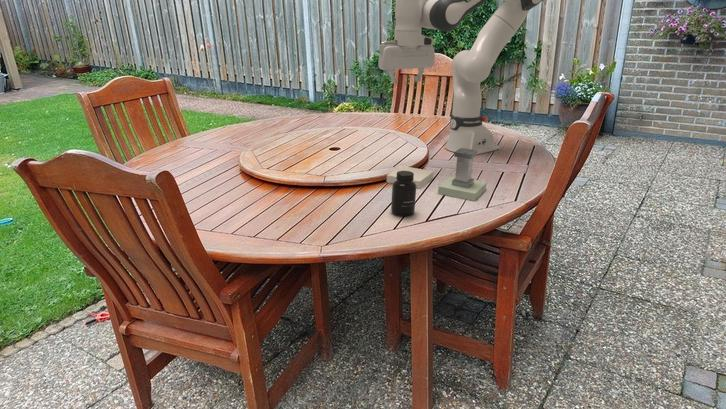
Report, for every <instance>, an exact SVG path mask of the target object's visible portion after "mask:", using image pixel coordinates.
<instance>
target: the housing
mask: <svg viewBox="0 0 726 409" xmlns="http://www.w3.org/2000/svg"><path fill="white" fill-rule="evenodd" d="M476 156H478V154H477V150H471V149H465V148H460V149H458V150H457V151H455V152H454V154H453V157H454V158H456V167H455V175H454V176H455V179H454V180H452V185H453V186H458V187H464V188H469V187H470V186H471V185H473V184H474V180H475V178H472V176H473V175H472V174H473V166H474V158H475V157H476Z"/></svg>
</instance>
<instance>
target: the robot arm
mask: <svg viewBox="0 0 726 409" xmlns="http://www.w3.org/2000/svg"><path fill="white" fill-rule="evenodd" d="M487 1H488V0H395V6H394V7H395V9H394V10H395V11H394V18H395V26H394V36H393V37H394V39H392V40H387V39H385V40H383V41H382V42H381V43H380V44H379V50H378V51H379V55H378V62H377V63H378V64H377V65H378V68H379V69H380V70H383V71H387V73H388V75H389V77H390V84H397V83H398V78H397V77H396V76H395V75H394V74H395V73H396V72H395V71H396V70H411V69H412V70H413V69H417V71H418V72H417V75H414V81H415V82H416V83H417V82H419V83H420V82H422V76H423V75H424V73H425V69H427V68H429V69H430V68H433V67H434V65H435V56H436V55H435V54H436V53H435V48H434V46H433V45H434V44H435V39H434V38H432V37H430V36H427V35H424V34H422V28H424V29H429V30H438V31H442V32H452V31H454V30H455V29H456V28H458V27H459V25H461V23H462V21H463V20H464V19H465V18H466V16H468V15H469V14H471V12H473V11H474V10H476V9H477V8H479V7H480V6H481V5H483V4H485V2H487ZM542 1H543V0H504V2H503V3H502V4H501V5H499V7H498V8H497V9H496V10H495V11H494V13H493V14H492V15H491V16H490V18H489V19H488V20H487V21H486V22H485V24H484V25H483V27H482V28H481V29H480V30H479V32H478V34H477V37H476V39H475V41H474V42H473V44H472V46H471V48H470V49H464V50H461V51H459V52H458V53H457V54H455V55H454V57H453V60H452V65H451V66H452V85H453V86H452V88H453V99H452V100H453V101H452V111H451V112H452V113H451V114H450V122H449V127H450V130H449V133H448V138H447V142H446V144H445V149H446V150H448V151H449V152H454V153H455V151H457V150H458V149H460V148H465V149H471V150H477V155H480V154H485V153H488V152H489V153H490V152H493V151H497V149H498V150H500V147H499V145H498V144H496V143H495V142H494V141H495V140H494V138H495V137H494V134H493V132H491V130H489V129H488V128H487V127H486V126H485V125H484V124H483V122H484V123H487V122H488V120H489V119H488V116H484V115H483V116H482V115H481V107H482V106H481V105H482V97H483V96H482V92H481V83H482V82H483V81H485V80H486V79H487V78H488V77H489V76H490V74H491V71H492V68H493V66H494V65H495V63H496V61H497V59H498V57H499V55H500V53H501V52H502V51H503V49H504V48H505V47H506V46H507V44H508V43H509V42H510V40H511V39H512V37H513V36H514V35H515V34H516V33H517V31H518V30H519V29H520V28H521V26H522V24H524V21H525V20H526V18H527V16H528V15H529V12H530V10H531V9H533V8H535V7H537V6H538V5H540V3H542Z"/></svg>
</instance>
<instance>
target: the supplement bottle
mask: <svg viewBox="0 0 726 409" xmlns="http://www.w3.org/2000/svg"><path fill="white" fill-rule="evenodd" d="M396 179H397V180H396V181H395V182H394V183H392V190H391V204H390V206H391V208H390V210H391V213H392V214H393V215H395V216H398V217H409V216H412V215H414V213H415V209H416V198H417V196H416V195H417V188H416V184H415V182H413V180H414V173H413V172H410V171H398V172H397V177H396Z"/></svg>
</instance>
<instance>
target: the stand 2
mask: <svg viewBox="0 0 726 409" xmlns="http://www.w3.org/2000/svg"><path fill="white" fill-rule="evenodd" d="M455 176H456V175H451V176H450V177H448V178H447V179H445V180H444V181H443V182H442V183H440V184H439V186H438V188H437V194H439V195H443V196H446V197H452V198H456V199H457V198H458V199H462V200H467V201H471V202H475V201H476V200H477V199H478V198H479V197H480V196H482V194H483V193H484V192H485V191H486V190H487V184H488V183H487V181H482V180H476V179H474V184H473V185H471V186H470V187H469V188H464V187H458V186H453V185H452V180H454V179H455Z"/></svg>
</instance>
